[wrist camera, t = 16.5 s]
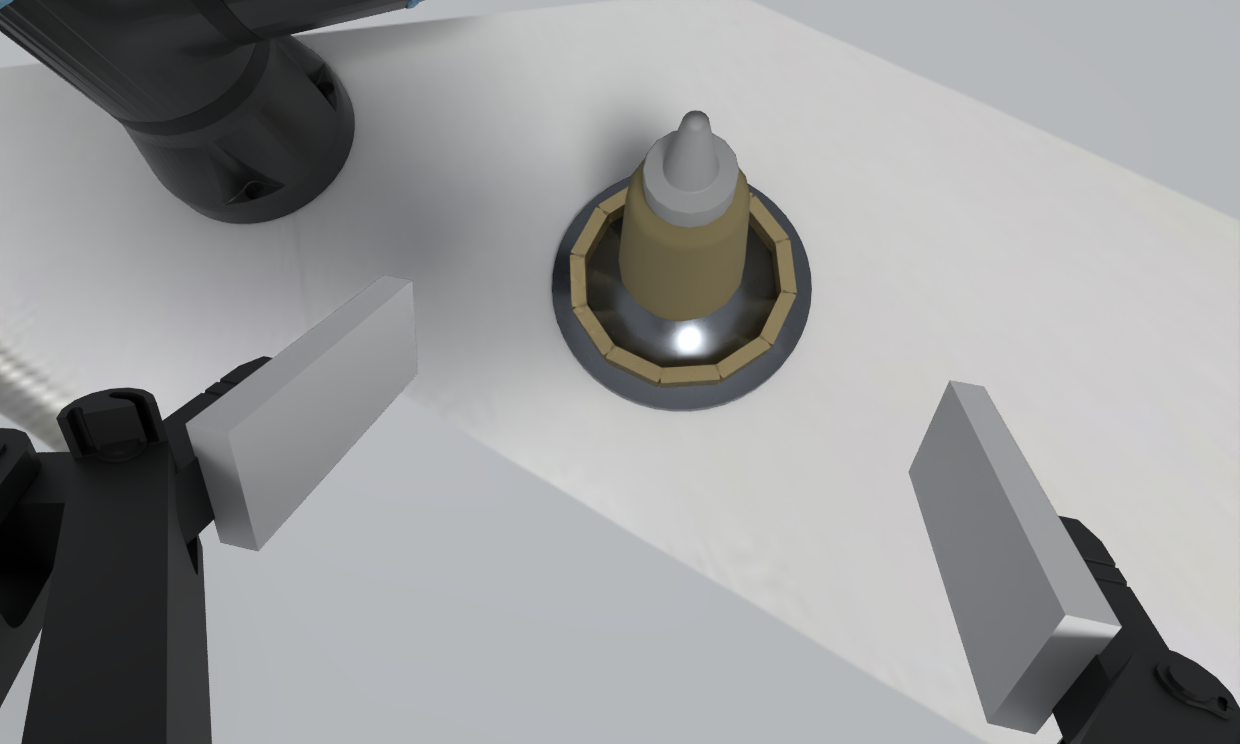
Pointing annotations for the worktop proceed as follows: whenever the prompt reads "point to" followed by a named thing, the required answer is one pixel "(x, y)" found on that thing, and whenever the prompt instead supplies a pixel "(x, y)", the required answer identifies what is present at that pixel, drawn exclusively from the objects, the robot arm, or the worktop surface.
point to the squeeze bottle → (685, 224)
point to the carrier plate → (688, 350)
